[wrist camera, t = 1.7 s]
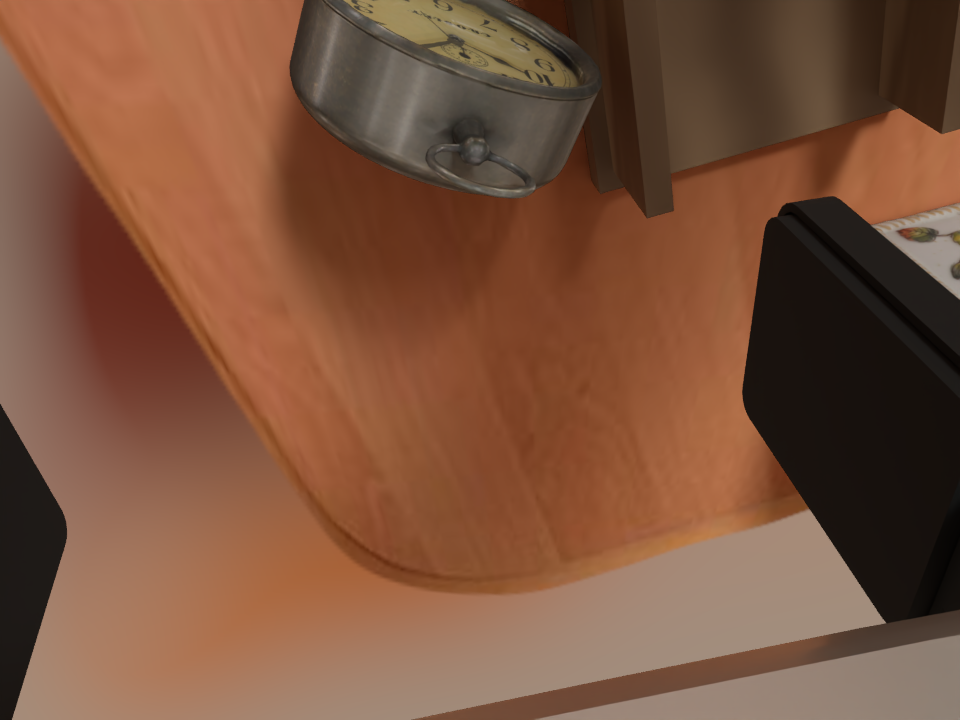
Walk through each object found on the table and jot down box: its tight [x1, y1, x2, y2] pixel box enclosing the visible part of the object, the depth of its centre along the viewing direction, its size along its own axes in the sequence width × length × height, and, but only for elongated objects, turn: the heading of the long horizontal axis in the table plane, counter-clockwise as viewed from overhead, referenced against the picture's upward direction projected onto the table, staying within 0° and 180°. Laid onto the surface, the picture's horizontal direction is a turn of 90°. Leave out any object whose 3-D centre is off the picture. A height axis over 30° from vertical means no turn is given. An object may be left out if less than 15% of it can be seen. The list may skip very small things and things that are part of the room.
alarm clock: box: [290, 0, 602, 198], centre depth 29 cm, size 11×5×16 cm, turn 70°
